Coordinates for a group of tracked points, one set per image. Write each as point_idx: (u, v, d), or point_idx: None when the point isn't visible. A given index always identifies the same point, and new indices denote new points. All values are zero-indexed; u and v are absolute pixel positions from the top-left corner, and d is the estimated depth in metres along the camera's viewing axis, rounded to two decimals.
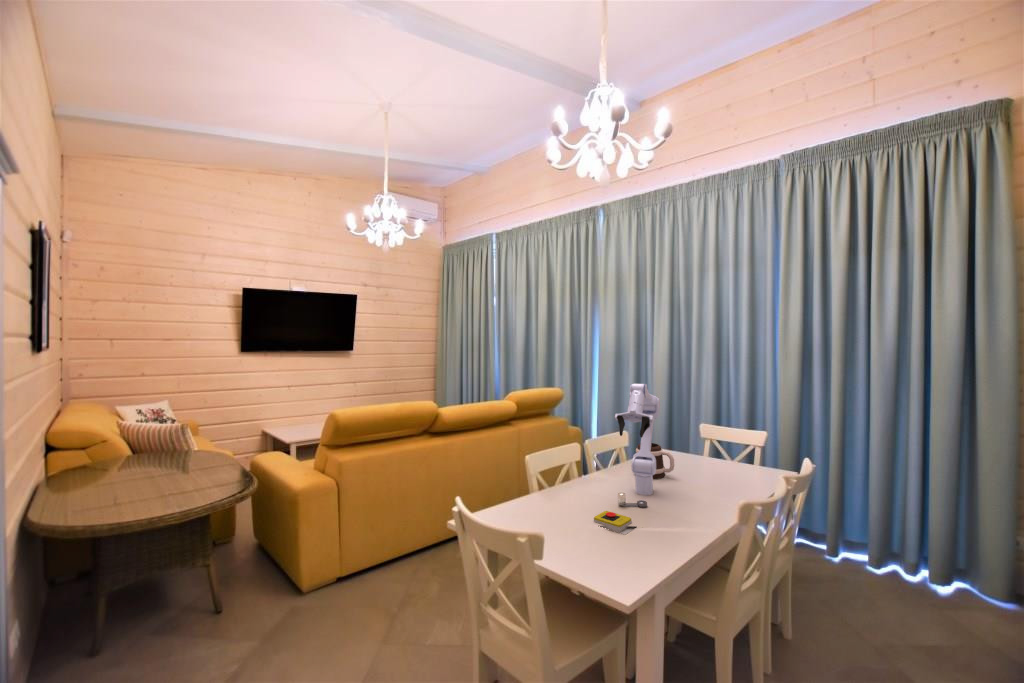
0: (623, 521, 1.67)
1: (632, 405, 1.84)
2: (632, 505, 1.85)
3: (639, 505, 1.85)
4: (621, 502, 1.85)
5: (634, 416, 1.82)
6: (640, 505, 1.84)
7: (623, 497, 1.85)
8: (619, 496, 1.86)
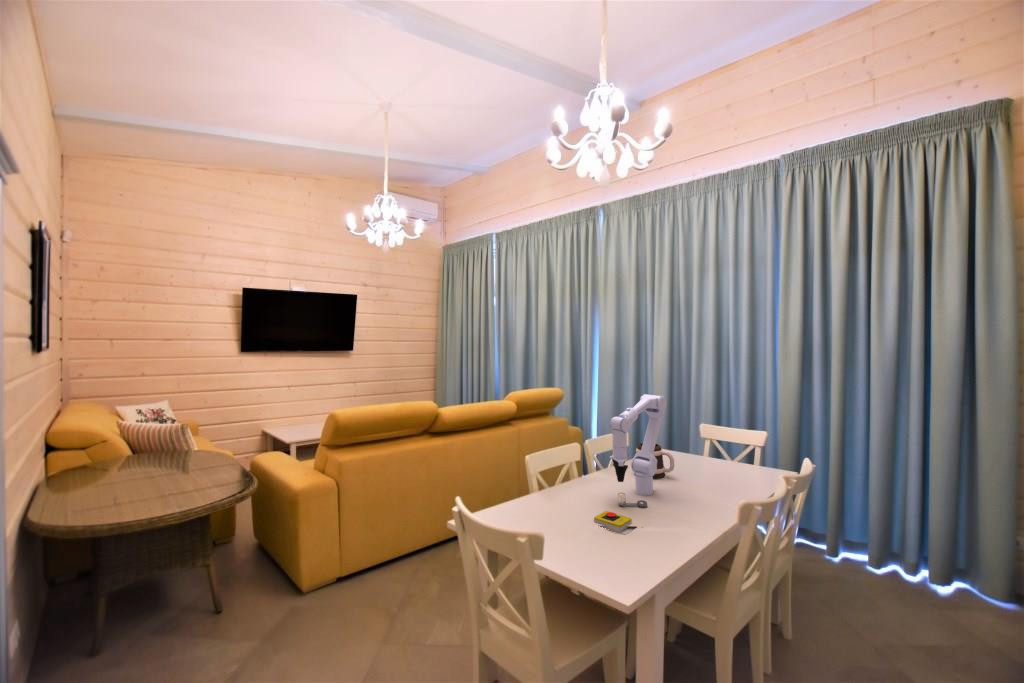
0: (623, 521, 1.67)
1: None
2: (632, 505, 1.85)
3: (639, 505, 1.85)
4: (621, 502, 1.85)
5: None
6: (640, 505, 1.84)
7: (623, 497, 1.85)
8: (619, 496, 1.86)
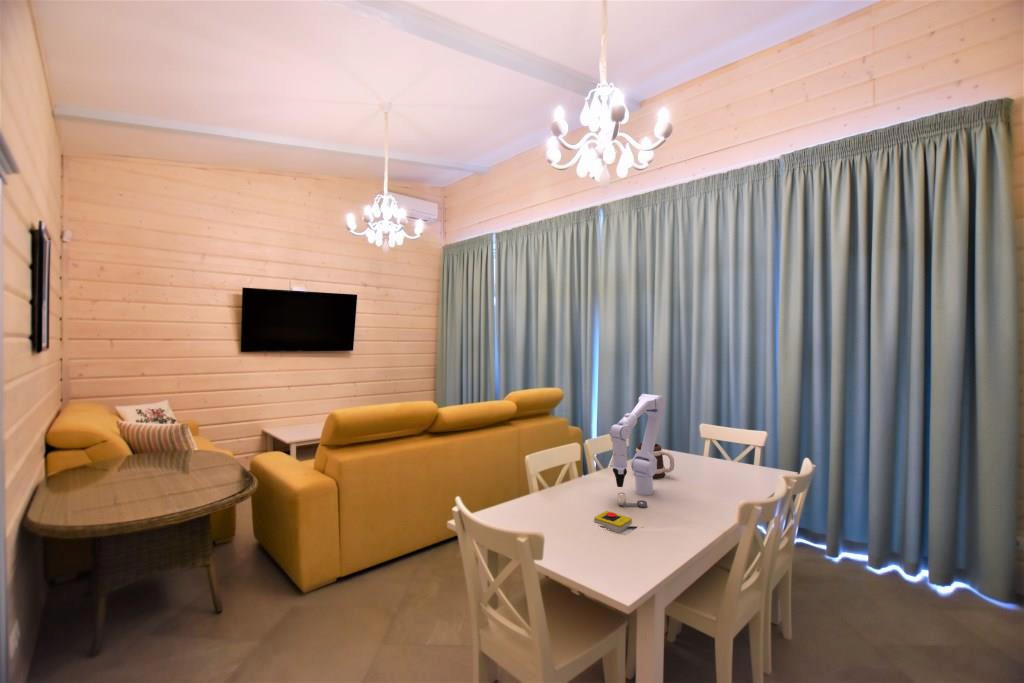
0: (623, 521, 1.67)
1: None
2: (632, 505, 1.85)
3: (639, 505, 1.85)
4: (621, 502, 1.85)
5: None
6: (640, 505, 1.84)
7: (623, 497, 1.85)
8: (619, 496, 1.86)
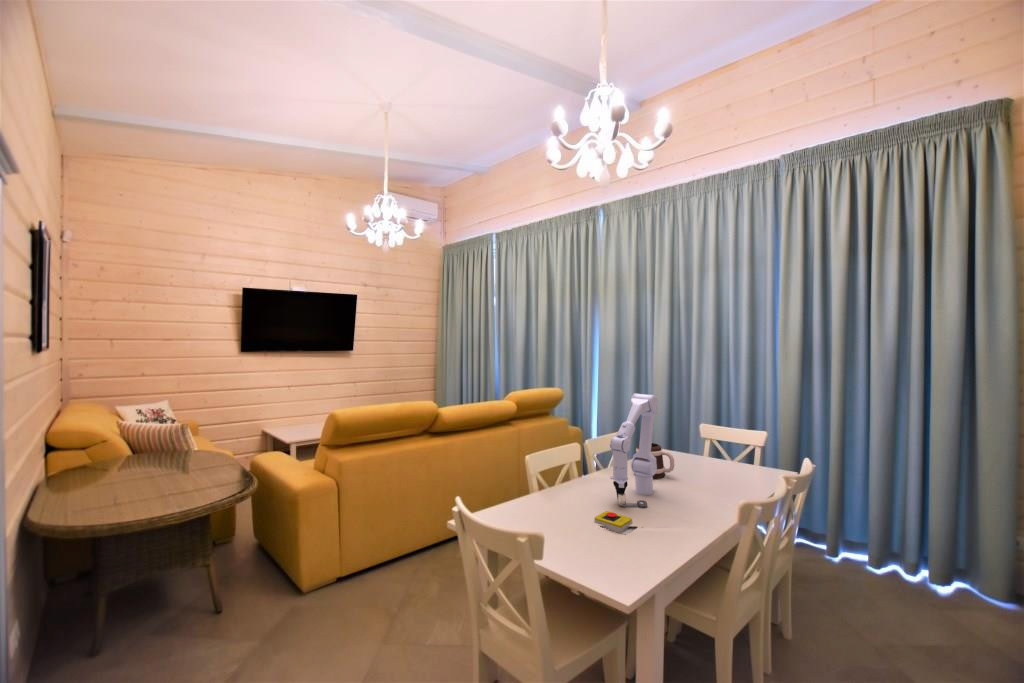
0: (624, 521, 1.67)
1: None
2: (632, 505, 1.85)
3: (639, 505, 1.84)
4: (621, 502, 1.85)
5: None
6: (640, 505, 1.84)
7: (624, 498, 1.85)
8: (620, 497, 1.85)
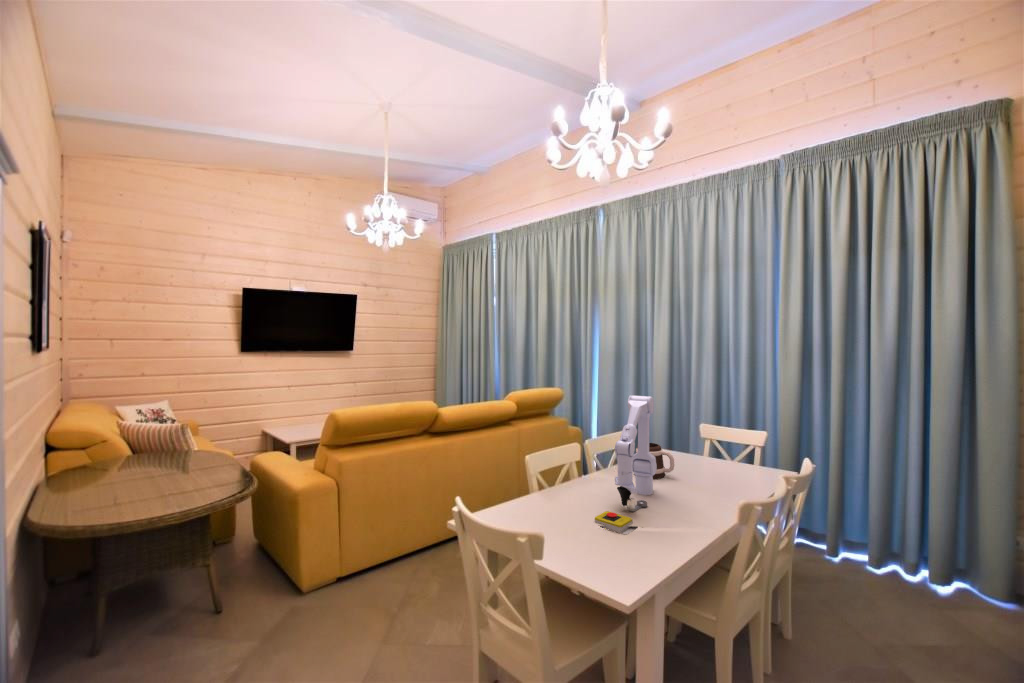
0: (624, 521, 1.67)
1: None
2: (638, 508, 1.83)
3: (643, 506, 1.84)
4: (633, 507, 1.79)
5: None
6: (644, 505, 1.84)
7: (634, 502, 1.80)
8: (631, 502, 1.79)
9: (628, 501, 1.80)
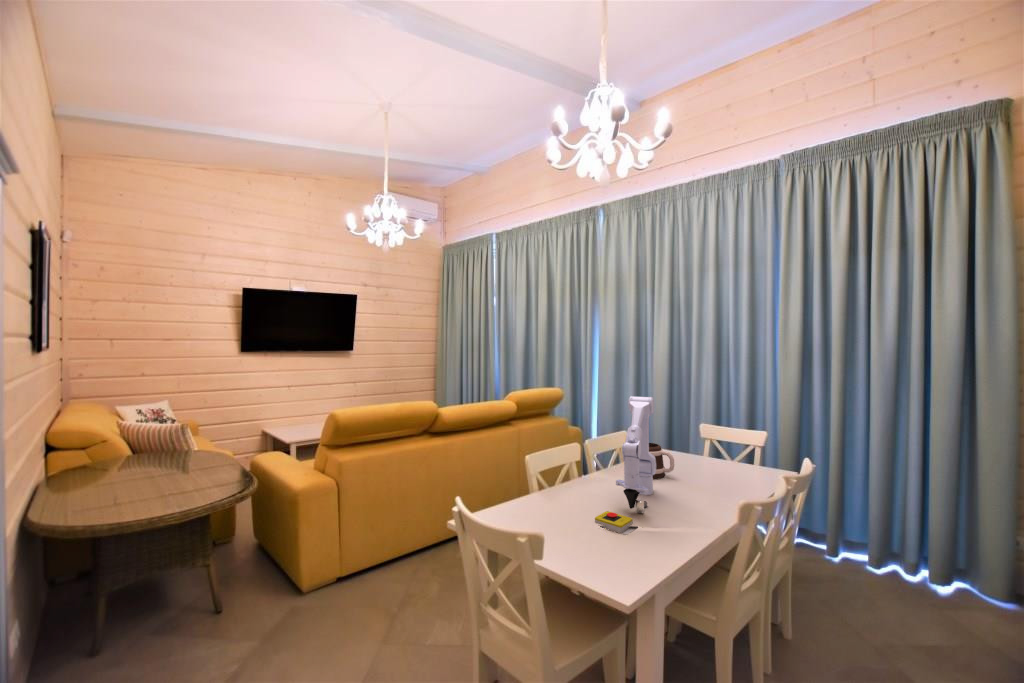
0: (624, 521, 1.67)
1: (625, 477, 1.78)
2: None
3: (645, 505, 1.84)
4: (643, 509, 1.77)
5: None
6: (646, 505, 1.84)
7: None
8: (642, 504, 1.77)
9: (639, 503, 1.77)
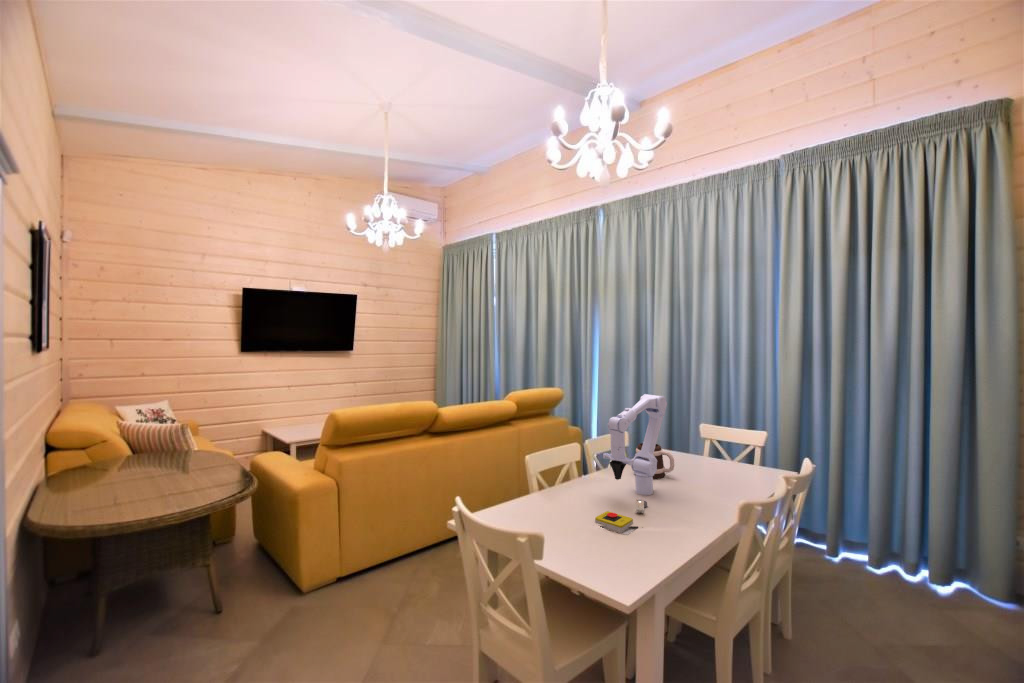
0: (624, 522, 1.67)
1: (612, 450, 1.91)
2: None
3: (645, 505, 1.84)
4: (643, 509, 1.77)
5: None
6: (646, 505, 1.84)
7: None
8: (642, 504, 1.77)
9: (639, 503, 1.77)
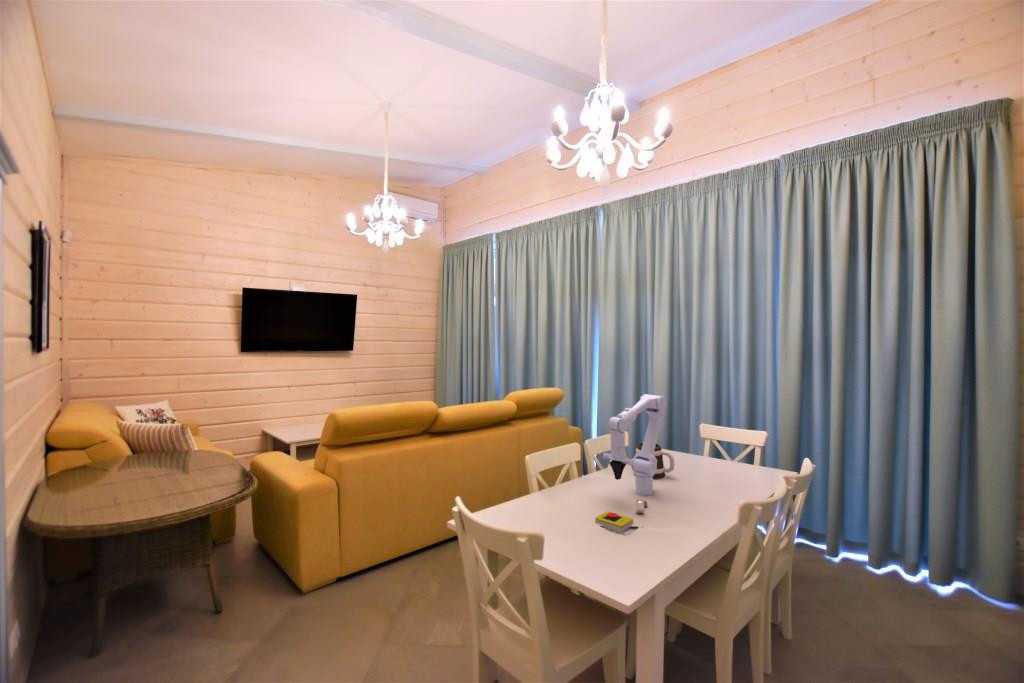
0: (625, 522, 1.67)
1: (612, 450, 1.91)
2: None
3: (645, 505, 1.84)
4: (643, 509, 1.77)
5: None
6: (646, 505, 1.84)
7: None
8: (642, 504, 1.77)
9: (639, 503, 1.77)
